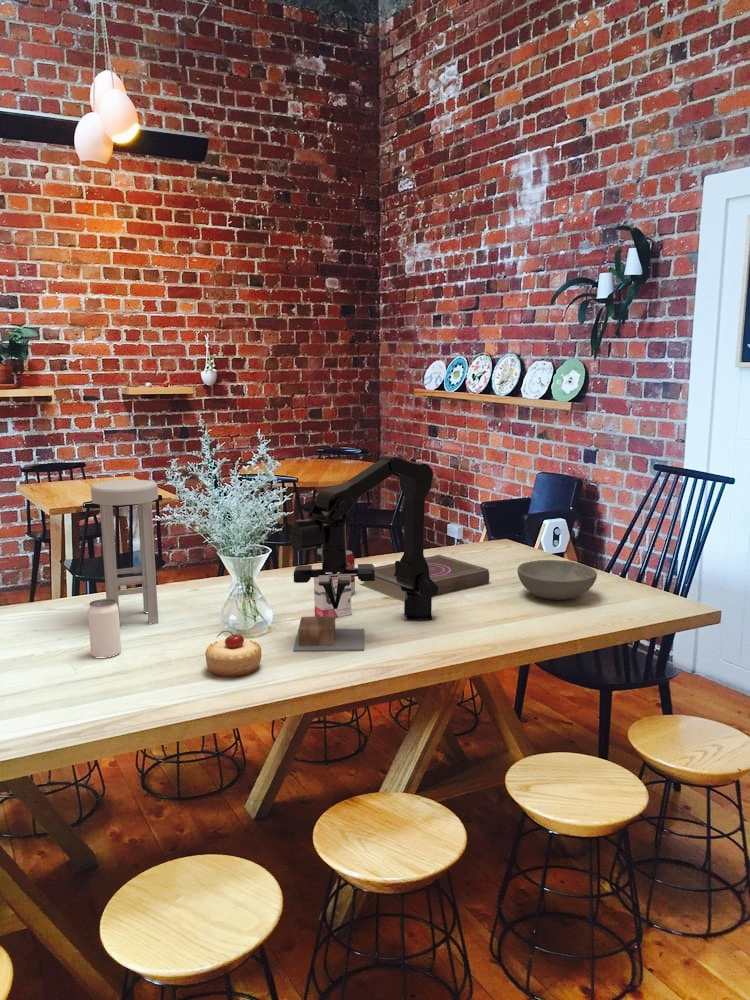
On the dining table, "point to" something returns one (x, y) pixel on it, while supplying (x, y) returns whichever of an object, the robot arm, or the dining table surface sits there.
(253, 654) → the pastry
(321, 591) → the ink box
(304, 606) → the dining table surface
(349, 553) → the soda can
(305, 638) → the slab
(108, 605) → the can
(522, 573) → the bowl
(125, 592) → the stool
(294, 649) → the mat
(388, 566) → the book
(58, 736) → the dining table surface
